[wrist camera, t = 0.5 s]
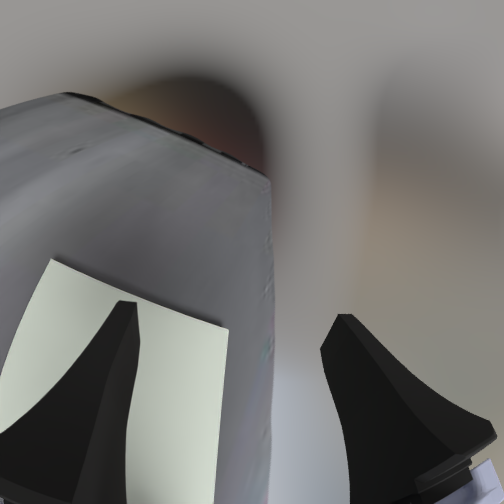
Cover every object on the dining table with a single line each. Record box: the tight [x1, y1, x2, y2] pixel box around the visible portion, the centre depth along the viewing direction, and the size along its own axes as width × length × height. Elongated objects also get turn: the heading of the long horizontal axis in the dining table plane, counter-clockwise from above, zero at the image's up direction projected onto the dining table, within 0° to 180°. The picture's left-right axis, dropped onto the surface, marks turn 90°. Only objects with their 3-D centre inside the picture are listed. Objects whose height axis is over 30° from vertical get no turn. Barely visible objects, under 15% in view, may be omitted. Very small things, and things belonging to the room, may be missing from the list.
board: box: [0, 259, 229, 504], centre depth 22 cm, size 20×20×2 cm
